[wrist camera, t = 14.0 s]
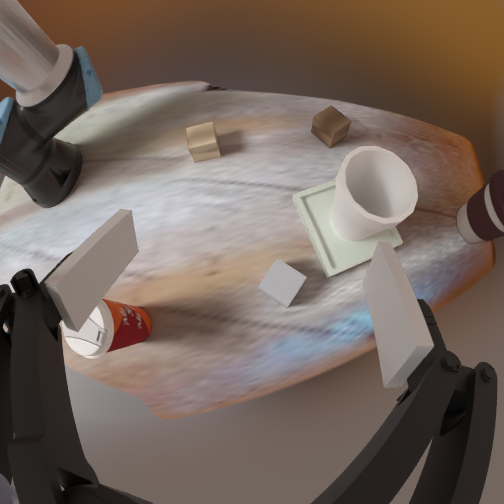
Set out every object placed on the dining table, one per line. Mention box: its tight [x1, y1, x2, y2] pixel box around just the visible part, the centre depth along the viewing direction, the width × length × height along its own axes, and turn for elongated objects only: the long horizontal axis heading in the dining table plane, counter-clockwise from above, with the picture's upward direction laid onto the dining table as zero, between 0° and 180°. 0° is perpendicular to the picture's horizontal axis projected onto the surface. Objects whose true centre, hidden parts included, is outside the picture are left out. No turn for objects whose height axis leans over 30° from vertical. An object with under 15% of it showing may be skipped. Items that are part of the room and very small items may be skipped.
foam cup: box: [331, 146, 418, 242], centre depth 32 cm, size 10×9×13 cm
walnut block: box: [311, 105, 351, 148], centre depth 42 cm, size 4×4×4 cm
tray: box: [292, 180, 403, 278], centre depth 39 cm, size 13×13×2 cm
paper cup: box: [62, 299, 152, 358], centre depth 32 cm, size 8×8×14 cm
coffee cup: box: [457, 170, 504, 243], centre depth 31 cm, size 10×10×15 cm
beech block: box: [186, 122, 221, 163], centre depth 43 cm, size 4×4×4 cm
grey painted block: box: [258, 258, 307, 308], centre depth 37 cm, size 4×4×4 cm
